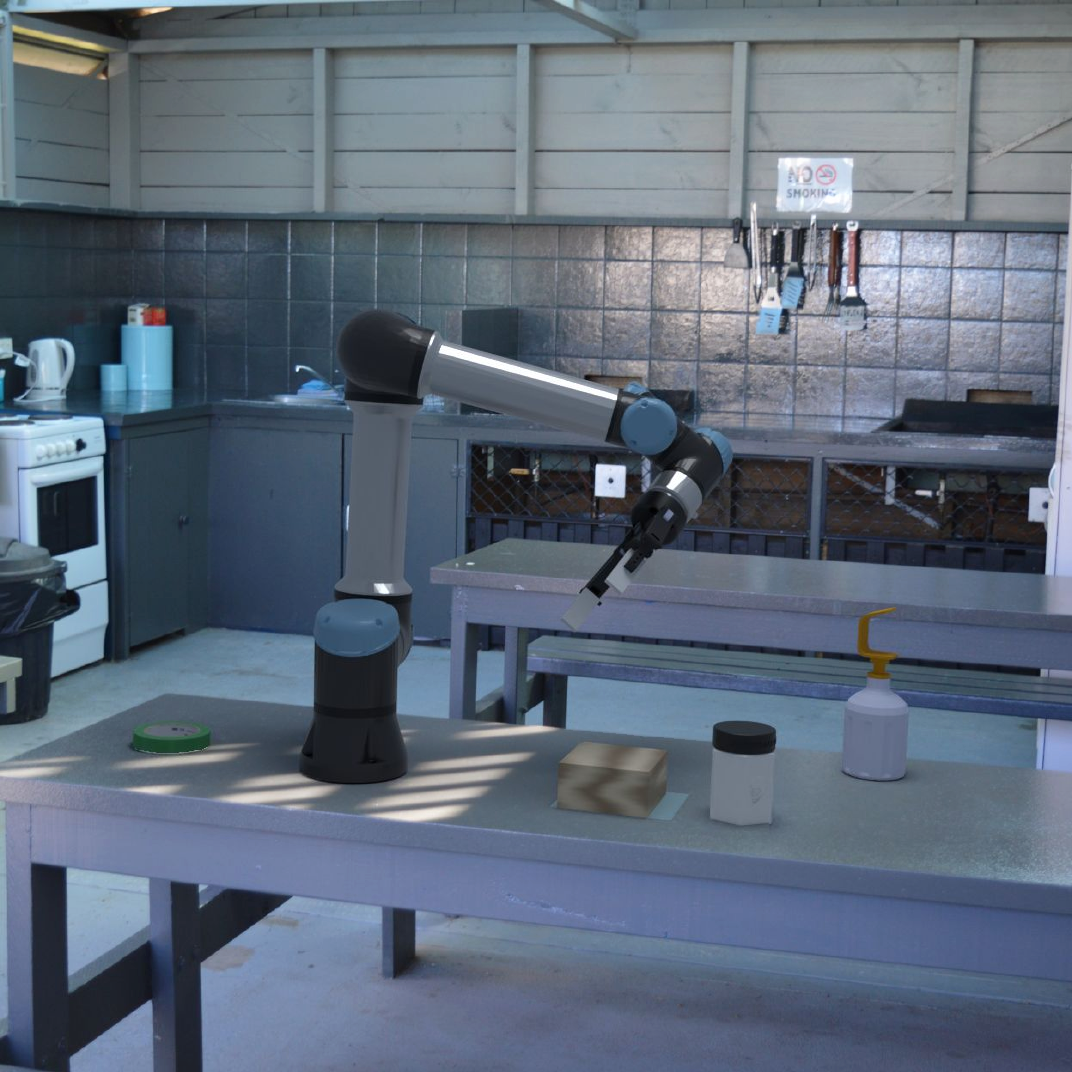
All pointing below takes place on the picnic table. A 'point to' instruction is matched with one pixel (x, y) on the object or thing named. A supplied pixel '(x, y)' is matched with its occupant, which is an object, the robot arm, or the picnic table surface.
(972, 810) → the picnic table surface
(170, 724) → the tape roll
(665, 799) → the build board
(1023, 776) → the picnic table surface
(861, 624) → the soap bottle
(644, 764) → the base block
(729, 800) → the jar
